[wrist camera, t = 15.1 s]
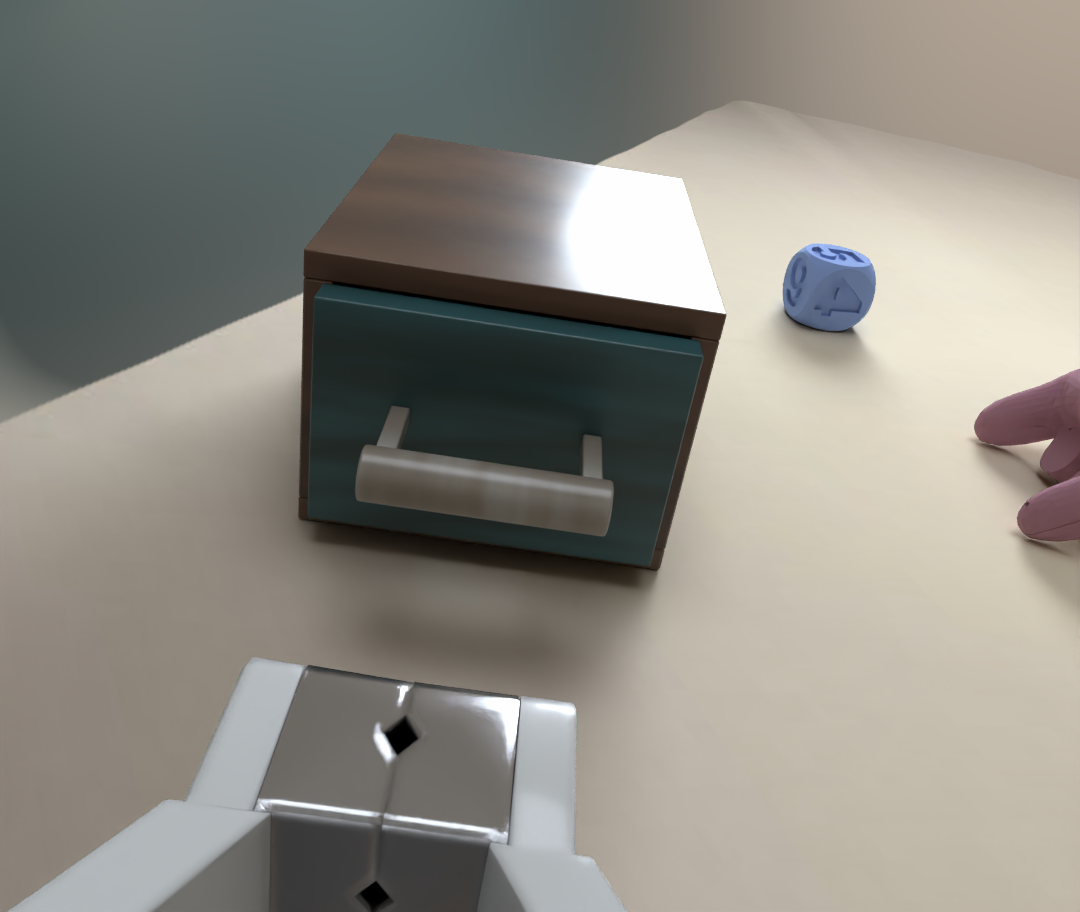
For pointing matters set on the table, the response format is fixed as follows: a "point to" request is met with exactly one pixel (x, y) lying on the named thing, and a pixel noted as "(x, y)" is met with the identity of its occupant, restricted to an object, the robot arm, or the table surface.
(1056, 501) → the video game controller
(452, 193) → the cabinet
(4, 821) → the table surface
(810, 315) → the decorative dice
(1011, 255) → the table surface
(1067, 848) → the table surface
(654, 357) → the drawer
